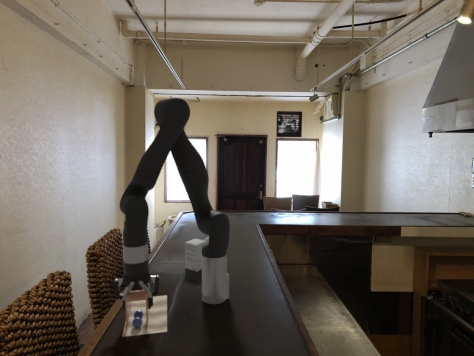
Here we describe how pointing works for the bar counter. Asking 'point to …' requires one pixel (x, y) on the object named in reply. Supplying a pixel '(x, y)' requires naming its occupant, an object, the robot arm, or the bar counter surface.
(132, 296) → the terracotta cover
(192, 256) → the supplement box
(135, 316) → the navy marble back
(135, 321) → the navy marble front
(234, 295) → the bar counter surface
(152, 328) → the birch mat
